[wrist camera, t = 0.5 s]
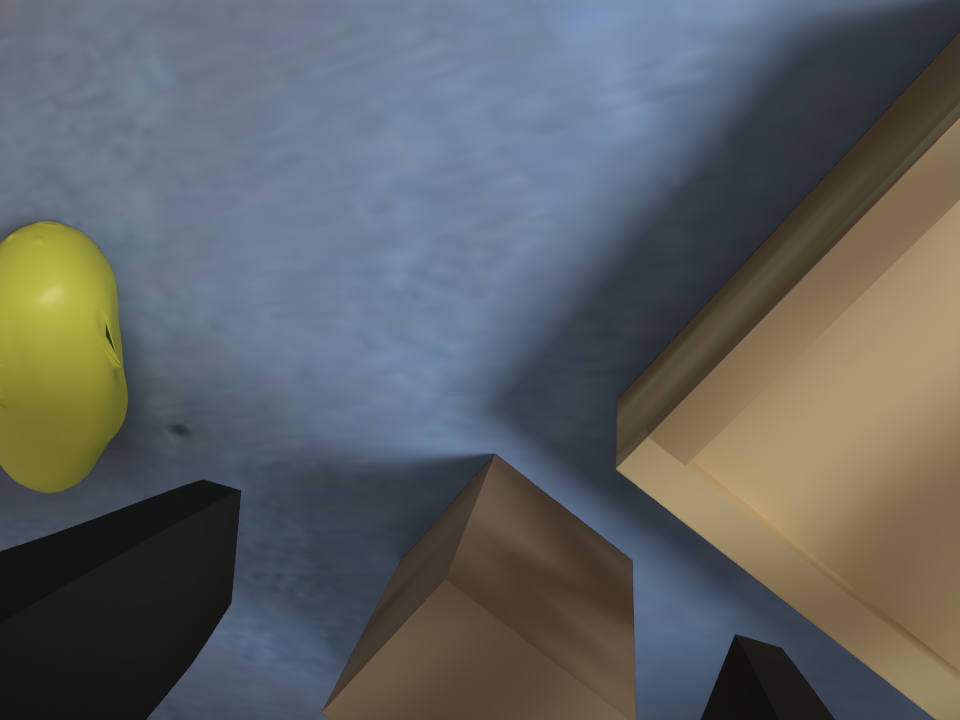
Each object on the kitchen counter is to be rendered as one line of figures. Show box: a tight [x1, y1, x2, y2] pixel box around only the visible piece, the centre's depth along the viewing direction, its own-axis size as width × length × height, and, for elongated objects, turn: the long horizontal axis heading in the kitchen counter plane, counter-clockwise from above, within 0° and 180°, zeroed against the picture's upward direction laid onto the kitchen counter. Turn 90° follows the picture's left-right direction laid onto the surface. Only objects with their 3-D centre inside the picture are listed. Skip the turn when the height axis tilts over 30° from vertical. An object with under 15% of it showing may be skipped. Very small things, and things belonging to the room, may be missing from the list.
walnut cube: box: [322, 454, 636, 720], centre depth 18 cm, size 5×5×6 cm
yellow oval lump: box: [0, 221, 128, 493], centre depth 20 cm, size 4×8×4 cm, turn 166°
